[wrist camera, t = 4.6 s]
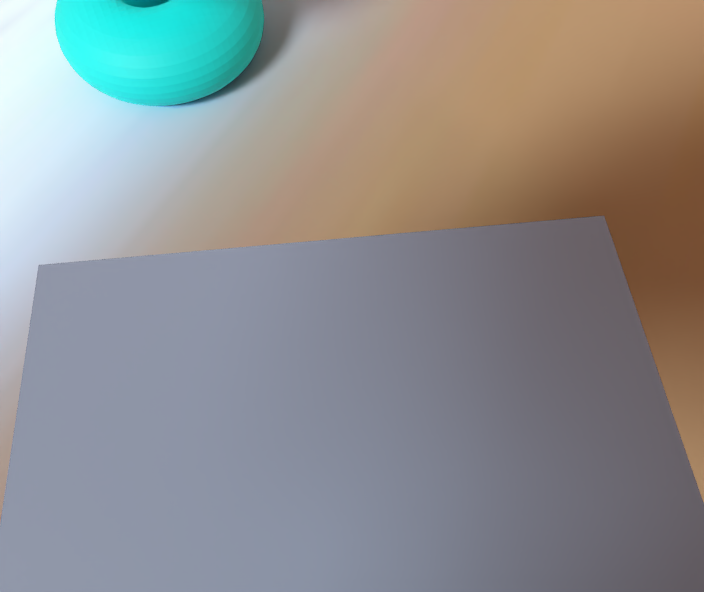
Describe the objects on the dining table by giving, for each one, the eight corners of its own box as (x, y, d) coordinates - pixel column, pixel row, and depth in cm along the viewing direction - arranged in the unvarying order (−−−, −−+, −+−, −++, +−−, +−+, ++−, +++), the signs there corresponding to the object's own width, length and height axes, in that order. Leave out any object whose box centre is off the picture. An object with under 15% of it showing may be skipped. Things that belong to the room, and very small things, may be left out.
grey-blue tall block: (437, 583, 13) (887, 1033, 2) (275, 604, 13) (-103, 1211, 2) (413, 418, 15) (604, 215, 4) (268, 434, 15) (39, 264, 4)
